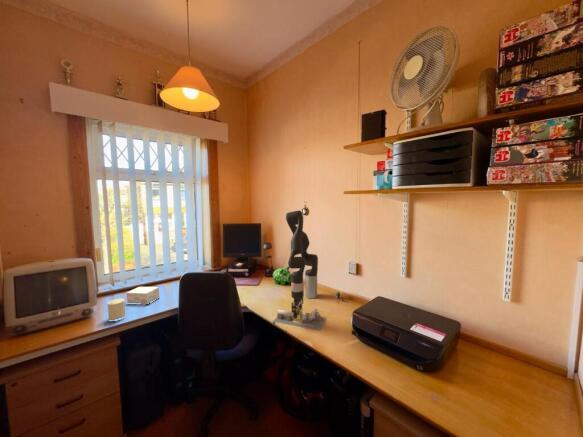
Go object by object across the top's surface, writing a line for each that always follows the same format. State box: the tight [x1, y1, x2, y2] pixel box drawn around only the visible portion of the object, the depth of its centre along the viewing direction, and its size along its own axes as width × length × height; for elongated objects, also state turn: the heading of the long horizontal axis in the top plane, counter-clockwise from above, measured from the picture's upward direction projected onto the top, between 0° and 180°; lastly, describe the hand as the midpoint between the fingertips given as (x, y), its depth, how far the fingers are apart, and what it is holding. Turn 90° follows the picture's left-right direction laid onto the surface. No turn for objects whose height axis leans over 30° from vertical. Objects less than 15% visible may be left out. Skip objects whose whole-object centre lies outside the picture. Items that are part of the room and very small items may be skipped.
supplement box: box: [126, 286, 160, 304], centre depth 183 cm, size 17×13×9 cm
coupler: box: [293, 307, 304, 322], centre depth 147 cm, size 4×4×8 cm
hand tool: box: [351, 328, 357, 337], centre depth 139 cm, size 19×4×5 cm, turn 152°
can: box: [107, 298, 127, 321], centre depth 156 cm, size 9×9×12 cm
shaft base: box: [272, 308, 328, 332], centre depth 148 cm, size 16×30×6 cm, turn 68°
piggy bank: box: [272, 265, 292, 286], centre depth 216 cm, size 14×18×15 cm
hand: (297, 314), depth 147 cm, fingers open, 8 cm apart
